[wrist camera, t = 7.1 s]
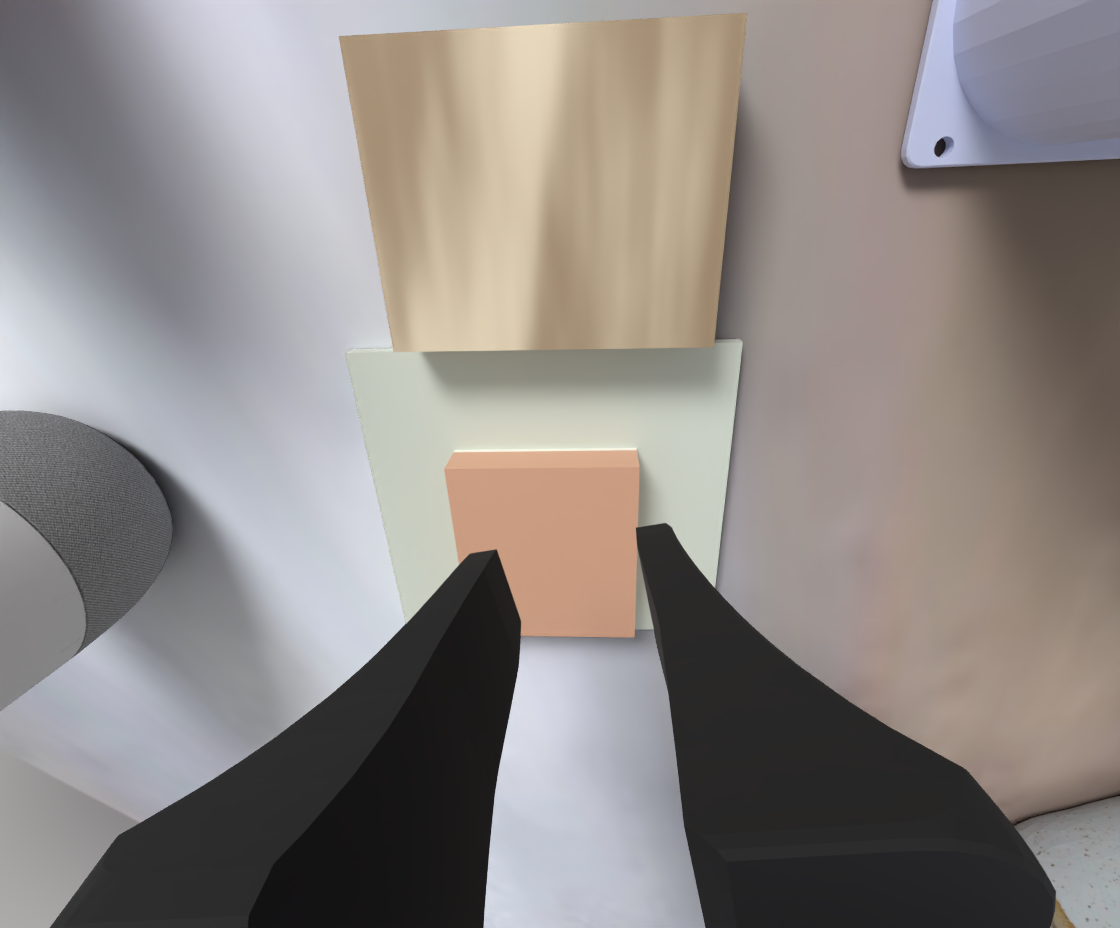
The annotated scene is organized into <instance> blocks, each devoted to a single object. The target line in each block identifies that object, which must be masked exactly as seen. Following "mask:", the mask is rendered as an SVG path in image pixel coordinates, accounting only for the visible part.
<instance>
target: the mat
mask: <svg viewBox="0 0 1120 928" xmlns="http://www.w3.org/2000/svg"><path fill="white" fill-rule="evenodd" d="M742 345H743V342H742V341H741V340H740V339H721V340H715V341H714V347H704V348H637V349H570V350H503V351H436V352H394V351H393V348H377V349H350V350H348V351H347V352H345V356H346V360H347V365H348V369H349V374H350V378H351V383H352V387H353V391H354V396H355V400H356V405H357V409H358V414H359V418H360V423H361V427H362V431H363V436H364V440H365V445H366V449H367V454H368V458H369V463H370V467H371V472H372V476H373V480H374V485H375V489H376V494H377V498H378V503H379V507H380V512H381V516H382V520H383V525H384V529H385V534H386V538H387V543H388V547H389V552H390V556H391V560H392V565H393V569H394V574H395V578H396V583H397V587H398V592H399V596H400V601H401V605H402V609H403V614H404V618H405V623H407V622H408V621H409V620H410V619H411V618H412V617H413V616H414V615H415V614H416V613H417V612H418V610H419V609H420V608H421V607H422V606H423V605H424V604H425V603H426V602H427V600H428V599H429V598H430V597H431V596H432V595H433V594H434V593H435V592H436V590H437V589H438V588H439V587H440V586H441V585H442V584H443V582H444V581H445V580H446V579H447V578H448V577H449V576H450V574H451V573H452V572H453V571H454V570H455V569H456V568H457V567H458V565H459V562H458V555H457V549H456V542H455V536H454V530H453V523H452V517H451V510H450V504H449V497H448V491H447V485H446V478H445V472H444V468H445V466H446V465H447V463H448V461H449V459H450V457H451V456H452V454H453V452H454V450H506V449H590V448H637V454H638V460H639V466H640V472H639V506H638V527H643V526H649V525H656V524H662V523H667V524H668V525H670V526H671V527H672V528H673V531H674V533H675V535H676V537H677V539H678V540H679V542H680V543H681V545H682V547H683V548H684V550H685V551H686V552H687V554H688V555H689V557H690V558H691V559H692V561H693V562H694V563H695V565H696V566H697V567H698V569H699V570H700V571H701V572H702V573H703V575H704V576H705V577H706V578H707V579H708V581H709V582H710V583H711V584H712V585H713V587H714V588H715V584H716V575H717V566H718V557H719V548H720V539H721V530H722V522H723V513H724V504H725V495H726V486H727V477H728V469H729V460H730V451H731V442H732V433H733V424H734V416H735V407H736V398H737V389H738V380H739V371H740V362H741V354H742ZM635 629H643V630H654V628H653V623H652V618H651V613H650V608H649V603H648V598H647V593H646V588H645V583H644V578H643V573H642V568H641V563H640V558H639V553H638V548H637V575H636V609H635Z"/></svg>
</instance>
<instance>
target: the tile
mask: <svg viewBox="0 0 1120 928" xmlns="http://www.w3.org/2000/svg"><path fill="white" fill-rule="evenodd" d="M444 472H445V478H446V485H447V491H448V497H449V504H450V510H451V517H452V523H453V530H454V536H455V542H456V549H457V555H458V562H459V564H460V563H461V562H462V561H463V560H464V559H465V558H466V557H467V556H468V555H469V554H470V553H476V552H482V551H489V550H495V549H497V551H498V554H499V557H500V560H501V563H502V566H503V569H504V572H505V575H506V578H507V581H508V584H509V587H510V590H511V593H512V596H513V598H514V601H515V604H516V607H517V610H518V613H519V616H520V619H521V636H564V637H635V609H636V575H637V539H636V527H638V506H639V472H640V466H639V460H638V454H637V448H590V449H506V450H454V452H453V454H452V456H451V457H450V459H449V461H448V463H447V465H446V466H445V468H444Z"/></svg>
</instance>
